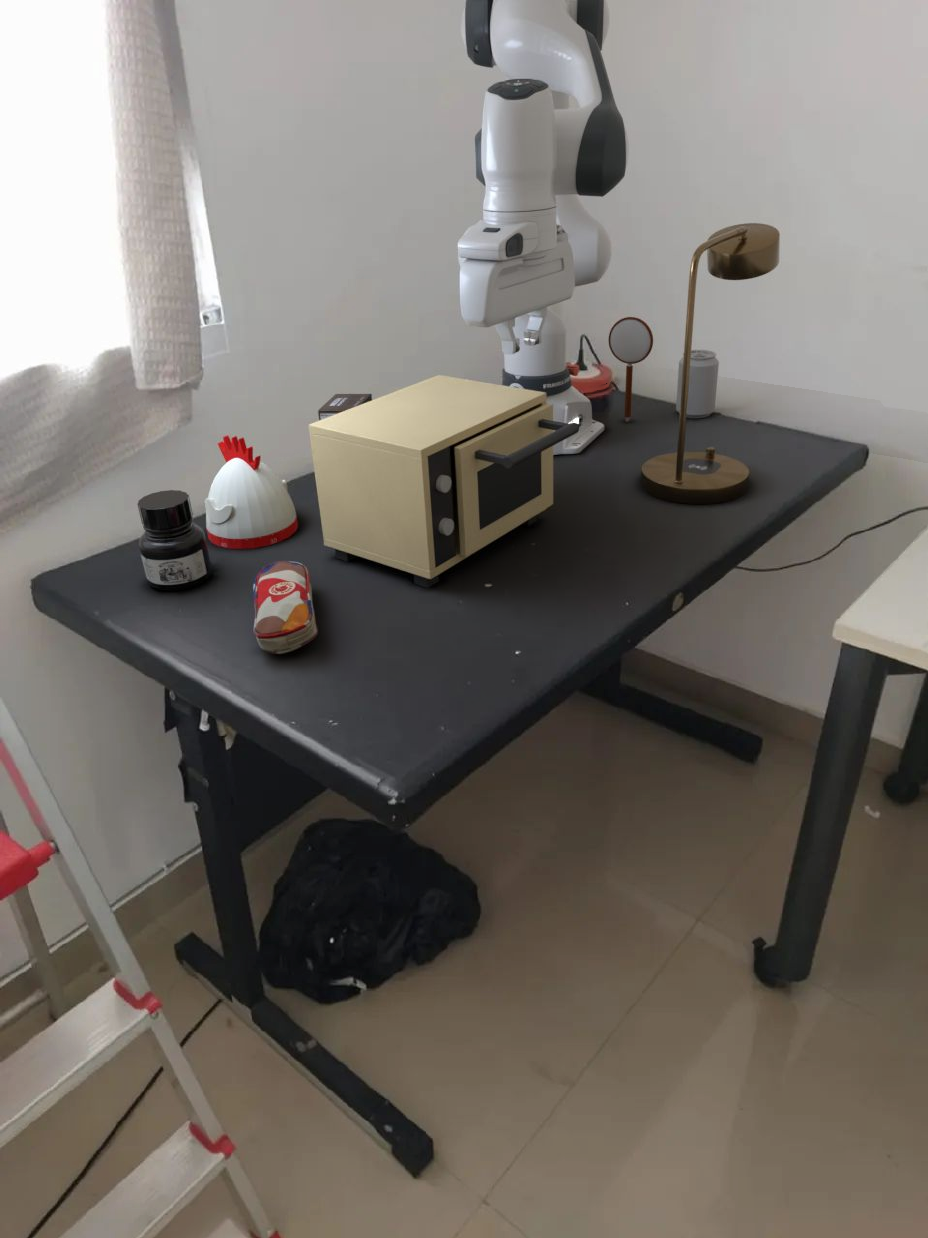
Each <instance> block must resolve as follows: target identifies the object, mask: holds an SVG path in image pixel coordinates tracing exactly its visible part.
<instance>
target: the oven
mask: <svg viewBox="0 0 928 1238" xmlns="http://www.w3.org/2000/svg"><path fill="white" fill-rule="evenodd" d="M545 404H546V393H545V392H539V391H533V390H527V389H521V388H515V387H509V386H503V385H502V384H498V383H497V384H496V383H490V382H484V381H479V380H473V379H472V380H471V379H466V378H461V377H460V378H459V377H453V376H448V375H443V374H437V375H435V376H433V377H430V378H427V379H425V380H422V381H419V382H416V383H414V384H411V385H408V386H406V387H403V388H400V389H398V390H395V391H392V392H390V393H388V394H385V395H383V396H379V397H378V398H375V399H372V401H369V402H367V403H364V404H361V405H359V406H356V407H354V408H351V409H348V410H346V411H343V412H341V413H338V414H335V415H333V416H330V417H327V418H325V419H322V420H320V421H319V420H317V421H315V422H312V423H310V424H308V432H309V439H310V448H311V456H312V464H313V471H314V477H315V485H316V492H317V494H316V495H317V500H318V509H319V516H320V523H321V530H322V537H323V538H322V539H323V545H324V546H325V547H329V548H331V549H334V550H335V558H336V559H340V560H341V561H345V562H350V561H352V560H353V559H355V558H357V557H360V558H362V559H366V560H369V561H372V562H375V563H378V564H380V565H381V564H382V565H384V566H388V567H391V568H394V569H396V570H400V571H403V572H407V573H409V574H412V575H413V583H414V584H415V585H418V586H421V587H424V588H427V589H428V588H430V587H431V586H433V585H436V583H438V582H439V581H440V579H439V578H440V577H439V575H440V574H442V573H443V572H445V571H447V570H448V569H450V568H452V567H454V566H455V565H457V564H458V563H460V562H462V561H463V560H465V559H467V558H469V557H470V556H471V555H473V554H475V553H476V552H478V551H480V550H481V549H483V548H485V547H486V546H488V545H489V544H491V543H494V541H496V540H498V539H499V538H501V537H504V535H506V534H507V533H509V532H511V531H513V530H514V529H516V528H518V527H519V526H521V525H524V526H527V527H529V526H531V525H532V524H534V523H535V522H537V521H538V515H539V514H541V513H542V512H544V511H546V510H547V509H548V508H546V509H544V510H543V511H541V512H539V513H538V514H536V515H534V516H533V517H531V518H529V519H528V520H526V521H525V522H523V523H521V524H520V525H518V526H516V527H515V528H513V529H511V530H510V531H508V532H506V533H505V534H503V535H501V536H500V537H498V538H497V539H495V540H493V541H492V542H490V543H488V544H487V545H485V546H483V547H482V548H480V549H478V550H477V551H475V552H473V553H472V554H470V555H469V556H467V557H464V556H461V555H460V539H459V521H458V503H457V484H456V466H455V447H456V446H459V445H461V444H463V443H465V442H467V441H469V440H471V439H473V438H475V437H478V436H480V435H482V434H484V433H486V432H488V431H490V430H492V429H494V428H497V427H499V426H501V425H503V424H505V423H507V422H509V421H511V420H513V419H516V418H518V417H520V416H522V415H524V414H526V413H528V412H530V411H533V410H535V409H537V408H539V407H541V406H543V405H545Z"/></svg>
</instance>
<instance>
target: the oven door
mask: <svg viewBox="0 0 928 1238" xmlns="http://www.w3.org/2000/svg"><path fill="white" fill-rule="evenodd" d="M553 430H556V431H554V432H553ZM578 431H579V426H578V424H577V423H575V422H572V423H570V424H567V423H562V422H556V421H553V404H548V403H547V404H545V405H543V406H541V407H539V408H537V409H535V410H533V411H530V412H528V413H526V414H524V415H522V416H520V417H518V418H516V419H513V420H511V421H509V422H507V423H505V424H503V425H501V426H499V427H497V428H494V429H492V430H490V431H488V432H486V433H484V434H482V435H480V436H478V437H475V438H473V439H471V440H469V441H467V442H465V443H463V444H461V445H459V446H456V447H455V466H456V484H457V503H458V521H459V539H460V555H461V556H464V557H466V558H468V557H470V556H471V555H473V554H474V553H473V552H475V551H476V552H478V551H479V550H478V549H480V548H481V549H483V548H484V547H483V546H485V545H486V546H488V545H489V544H491V543H493V542H494V541H496V540H498V539H499V538H501V537H502V536H501V535H503V534H504V535H506V534H507V533H506V532H508V531H509V532H511V531H512V530H511V529H513V528H514V529H516V528H517V527H519V526H521V525H522V524H521V523H523V522H525V521H526V520H528V519H529V518H531V517H533V516H534V515H536V514H537V515H539V514H540V513H542V512H544V511H545V510H547V509H548V508H550V507H551V506H552V505H554V455H553V445H555V444H557V443H559V442H561V441H563V440H565V439H566V438H568V437H570V436H572V435H574V434H576V433H578ZM546 508H547V509H546ZM544 509H545V510H544ZM543 510H544V511H543ZM541 511H542V512H541ZM539 512H540V513H539ZM538 513H539V514H538ZM520 524H521V525H520ZM518 525H519V526H518ZM516 526H517V527H516ZM515 527H516V528H515ZM514 529H513V530H514ZM510 530H511V531H510ZM509 532H508V533H509ZM505 533H506V534H505ZM504 535H503V536H504ZM500 536H501V537H500ZM498 537H499V538H498ZM497 538H498V539H497ZM495 539H496V540H495ZM493 540H494V541H493ZM492 541H493V542H492ZM490 542H491V543H490ZM488 543H489V544H488ZM487 544H488V545H487ZM486 546H485V547H486ZM482 547H483V548H482ZM481 549H480V550H481ZM477 550H478V551H477ZM476 552H475V553H476ZM472 553H473V554H472ZM470 554H471V555H470ZM469 555H470V556H469ZM467 556H468V557H467Z"/></svg>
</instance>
